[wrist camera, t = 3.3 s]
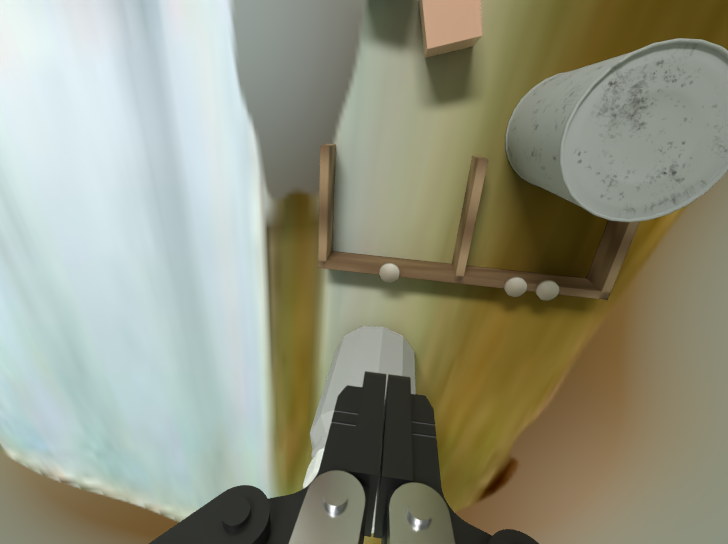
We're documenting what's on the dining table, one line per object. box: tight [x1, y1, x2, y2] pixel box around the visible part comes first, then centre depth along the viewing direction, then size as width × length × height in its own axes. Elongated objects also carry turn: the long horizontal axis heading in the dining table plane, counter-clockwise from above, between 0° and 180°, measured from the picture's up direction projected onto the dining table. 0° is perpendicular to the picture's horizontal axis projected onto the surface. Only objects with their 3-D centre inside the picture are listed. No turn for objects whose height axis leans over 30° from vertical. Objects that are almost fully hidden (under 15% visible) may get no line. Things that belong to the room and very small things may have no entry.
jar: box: [303, 326, 416, 533], centre depth 34 cm, size 10×10×18 cm
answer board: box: [318, 144, 640, 300], centre depth 33 cm, size 12×28×3 cm, turn 86°
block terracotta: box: [419, 0, 482, 58], centre depth 26 cm, size 4×4×4 cm
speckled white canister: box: [506, 38, 728, 222], centre depth 25 cm, size 10×10×12 cm
